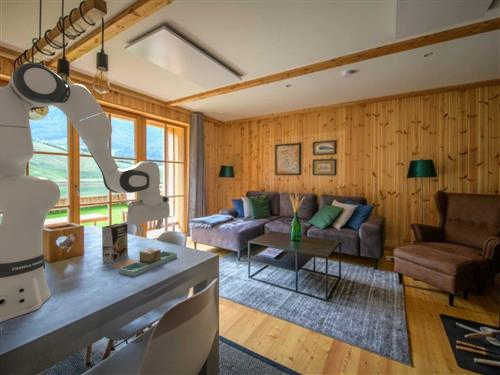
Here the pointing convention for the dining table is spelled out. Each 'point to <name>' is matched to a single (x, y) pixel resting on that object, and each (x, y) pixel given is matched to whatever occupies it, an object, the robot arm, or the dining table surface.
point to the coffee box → (114, 242)
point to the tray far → (168, 256)
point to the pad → (124, 263)
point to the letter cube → (150, 255)
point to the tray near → (134, 269)
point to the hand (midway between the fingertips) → (150, 231)
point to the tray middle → (155, 263)
